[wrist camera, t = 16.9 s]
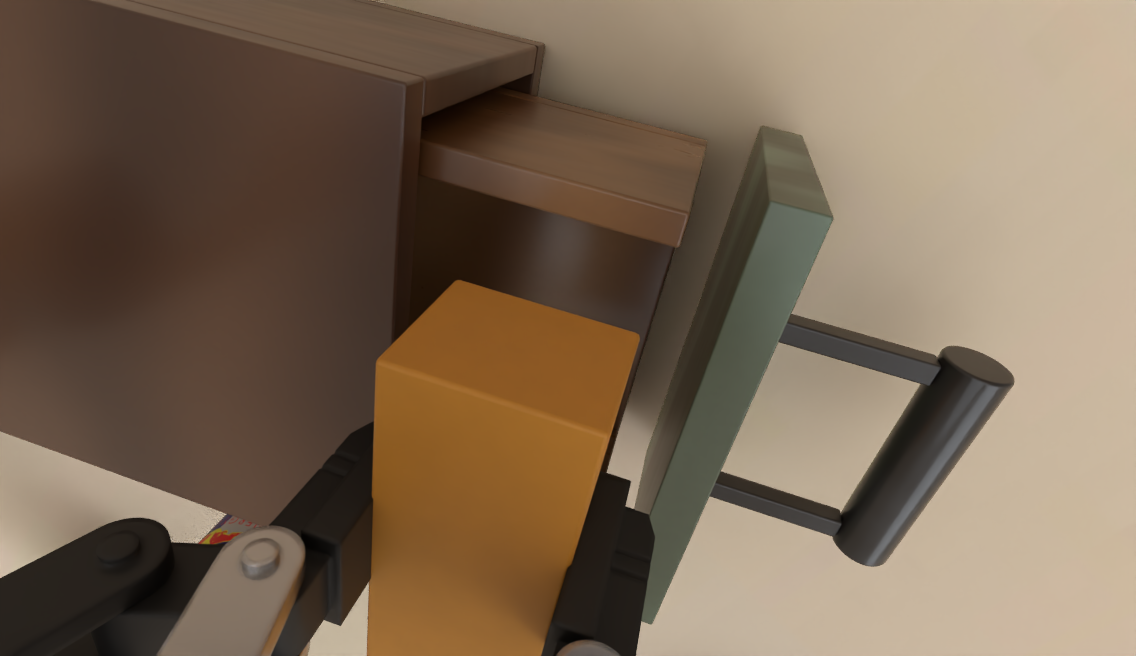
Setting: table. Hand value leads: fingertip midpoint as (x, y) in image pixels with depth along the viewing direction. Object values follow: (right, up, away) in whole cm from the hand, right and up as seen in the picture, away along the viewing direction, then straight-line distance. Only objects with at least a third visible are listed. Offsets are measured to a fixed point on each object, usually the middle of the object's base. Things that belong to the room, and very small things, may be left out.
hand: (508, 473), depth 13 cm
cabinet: (-8, +8, +10) cm, 15 cm away
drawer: (+3, +4, +8) cm, 10 cm away
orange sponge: (0, 0, 0) cm, 0 cm away
